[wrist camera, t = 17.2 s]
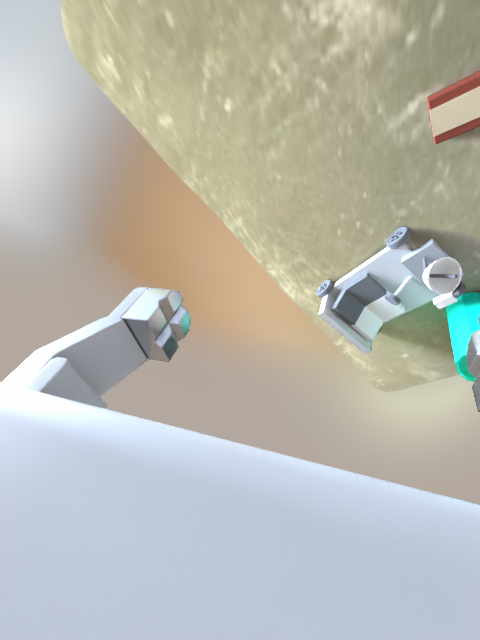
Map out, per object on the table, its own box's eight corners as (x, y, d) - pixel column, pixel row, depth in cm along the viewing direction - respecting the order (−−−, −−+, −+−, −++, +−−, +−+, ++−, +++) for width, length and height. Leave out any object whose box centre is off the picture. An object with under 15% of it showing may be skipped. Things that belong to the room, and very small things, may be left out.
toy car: (435, 250, 29) (505, 322, 31) (427, 207, 35) (486, 269, 38) (305, 328, 42) (362, 374, 44) (317, 286, 48) (366, 328, 51)
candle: (475, 330, 44) (493, 399, 36) (435, 314, 44) (445, 379, 36) (511, 302, 39) (541, 374, 31) (467, 285, 40) (485, 352, 32)
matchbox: (508, 55, 25) (514, 58, 24) (510, 106, 27) (516, 111, 26) (426, 97, 29) (427, 101, 27) (433, 139, 31) (435, 145, 29)
